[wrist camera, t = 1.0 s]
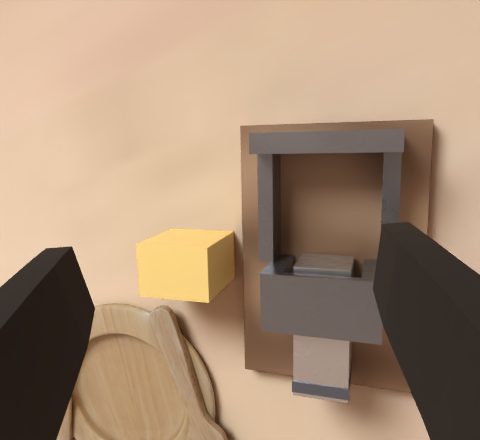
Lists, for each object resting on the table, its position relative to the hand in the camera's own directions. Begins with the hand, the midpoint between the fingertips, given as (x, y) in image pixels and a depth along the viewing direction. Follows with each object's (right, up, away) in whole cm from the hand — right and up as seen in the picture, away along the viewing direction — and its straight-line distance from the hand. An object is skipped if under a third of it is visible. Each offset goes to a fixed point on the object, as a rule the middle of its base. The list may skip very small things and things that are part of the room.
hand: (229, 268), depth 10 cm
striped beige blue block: (+5, -4, +14) cm, 16 cm away
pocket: (+5, +2, +13) cm, 14 cm away
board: (+5, -1, +15) cm, 16 cm away
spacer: (-2, -1, +17) cm, 17 cm away
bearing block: (+6, -2, +15) cm, 16 cm away
